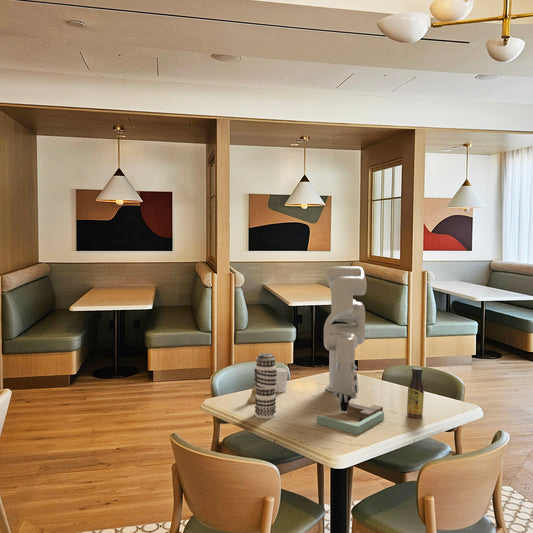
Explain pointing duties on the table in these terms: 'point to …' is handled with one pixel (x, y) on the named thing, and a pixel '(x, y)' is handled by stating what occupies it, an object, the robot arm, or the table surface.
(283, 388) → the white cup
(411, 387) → the sauce bottle
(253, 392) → the hand bell
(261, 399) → the patterned stacked cylinder
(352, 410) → the t block
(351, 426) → the corner fence
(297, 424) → the table surface
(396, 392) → the table surface
